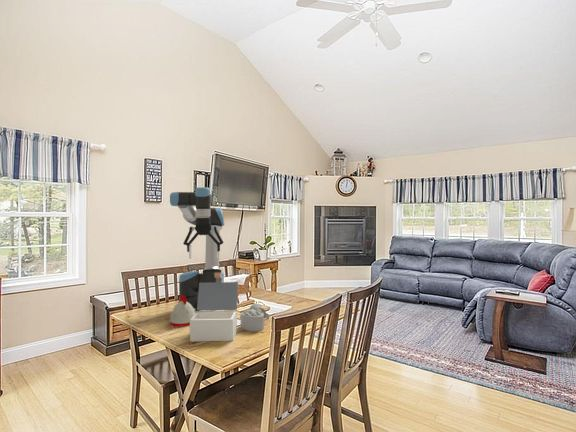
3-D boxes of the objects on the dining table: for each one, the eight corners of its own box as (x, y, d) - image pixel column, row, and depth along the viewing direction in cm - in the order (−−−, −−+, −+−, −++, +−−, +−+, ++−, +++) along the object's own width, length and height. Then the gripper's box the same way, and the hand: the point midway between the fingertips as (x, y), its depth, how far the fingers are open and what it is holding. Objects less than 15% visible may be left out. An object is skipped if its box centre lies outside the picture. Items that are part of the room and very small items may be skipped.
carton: (197, 330, 175) (197, 311, 175) (237, 330, 176) (236, 310, 175) (190, 341, 161) (189, 320, 161) (233, 340, 162) (232, 319, 161)
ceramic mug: (254, 322, 188) (255, 308, 188) (248, 318, 195) (248, 304, 195) (272, 319, 194) (272, 305, 194) (265, 315, 201) (265, 302, 201)
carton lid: (194, 308, 170) (197, 310, 175) (235, 308, 171) (236, 309, 176) (197, 272, 178) (200, 275, 183) (236, 272, 178) (238, 275, 183)
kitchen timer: (175, 328, 179) (175, 299, 179) (166, 322, 190) (165, 295, 190) (200, 322, 188) (200, 295, 188) (190, 317, 199) (189, 291, 198)
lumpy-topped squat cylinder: (254, 322, 188) (254, 306, 188) (268, 328, 178) (268, 311, 178) (238, 326, 181) (237, 310, 181) (252, 333, 171) (252, 315, 171)
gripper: (176, 217, 175) (177, 259, 176) (226, 217, 177) (227, 258, 177) (180, 217, 183) (181, 257, 183) (228, 216, 184) (228, 256, 185)
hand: (203, 258), depth 180 cm, fingers open, 13 cm apart
